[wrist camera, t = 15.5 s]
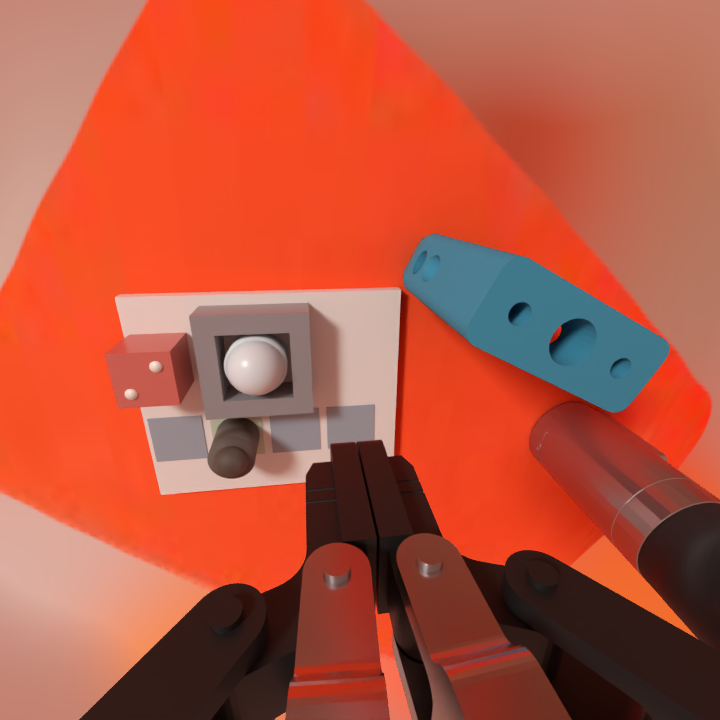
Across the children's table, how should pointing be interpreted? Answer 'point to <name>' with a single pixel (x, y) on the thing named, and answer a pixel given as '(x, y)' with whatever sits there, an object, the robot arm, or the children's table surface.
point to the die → (150, 370)
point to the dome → (256, 363)
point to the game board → (329, 381)
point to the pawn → (234, 448)
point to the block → (535, 320)
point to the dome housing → (245, 321)
